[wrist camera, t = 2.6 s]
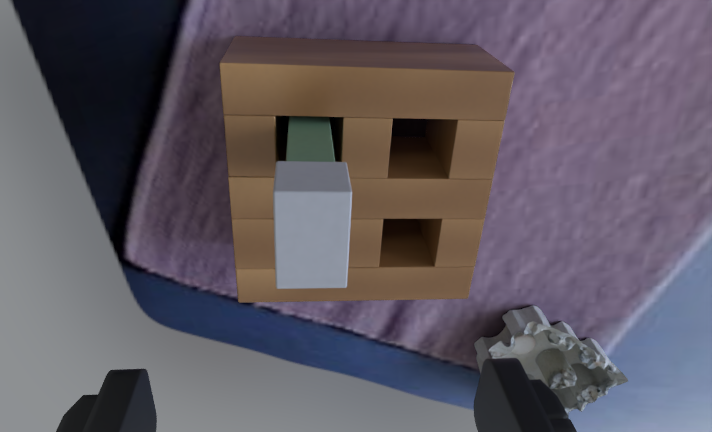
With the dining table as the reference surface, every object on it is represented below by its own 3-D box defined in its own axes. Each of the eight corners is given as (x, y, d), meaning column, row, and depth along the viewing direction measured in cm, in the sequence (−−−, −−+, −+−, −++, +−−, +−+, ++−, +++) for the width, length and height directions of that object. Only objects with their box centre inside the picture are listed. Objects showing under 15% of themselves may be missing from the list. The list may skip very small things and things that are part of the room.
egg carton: (458, 350, 41) (472, 390, 38) (527, 289, 39) (549, 326, 35) (543, 399, 45) (563, 440, 42) (611, 347, 43) (638, 386, 39)
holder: (234, 35, 28) (218, 62, 23) (477, 44, 29) (515, 71, 24) (247, 245, 35) (237, 303, 29) (444, 244, 36) (468, 299, 31)
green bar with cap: (285, 74, 29) (272, 191, 17) (331, 75, 29) (352, 192, 17) (286, 140, 31) (275, 289, 19) (329, 141, 31) (347, 288, 19)
